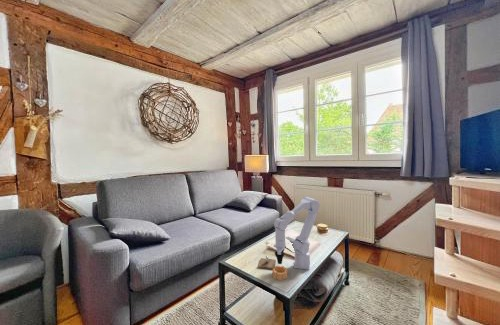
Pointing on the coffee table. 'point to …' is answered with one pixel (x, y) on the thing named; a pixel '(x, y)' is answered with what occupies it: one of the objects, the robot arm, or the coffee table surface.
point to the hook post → (267, 259)
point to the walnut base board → (267, 266)
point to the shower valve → (290, 239)
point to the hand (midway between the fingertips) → (280, 260)
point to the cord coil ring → (280, 275)
